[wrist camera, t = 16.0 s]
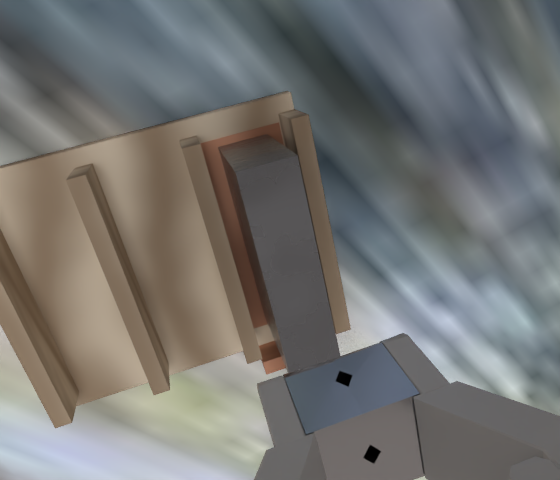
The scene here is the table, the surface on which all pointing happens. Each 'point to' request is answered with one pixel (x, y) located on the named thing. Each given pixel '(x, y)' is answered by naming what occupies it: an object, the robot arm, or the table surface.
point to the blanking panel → (281, 248)
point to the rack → (143, 256)
